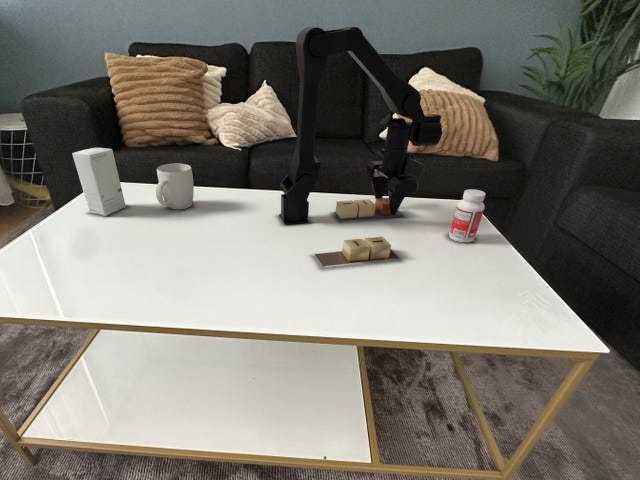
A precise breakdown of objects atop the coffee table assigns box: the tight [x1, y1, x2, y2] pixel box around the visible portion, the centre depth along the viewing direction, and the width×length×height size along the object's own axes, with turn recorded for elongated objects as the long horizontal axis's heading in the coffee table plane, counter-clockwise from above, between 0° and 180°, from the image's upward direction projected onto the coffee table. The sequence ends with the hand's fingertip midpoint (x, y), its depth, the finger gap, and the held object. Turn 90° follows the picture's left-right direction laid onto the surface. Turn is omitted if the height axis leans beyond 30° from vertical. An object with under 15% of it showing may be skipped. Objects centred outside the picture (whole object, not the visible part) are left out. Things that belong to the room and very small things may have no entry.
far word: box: [333, 198, 404, 222], centre depth 110 cm, size 18×6×4 cm, turn 105°
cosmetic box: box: [72, 147, 127, 217], centre depth 106 cm, size 8×6×15 cm
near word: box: [314, 236, 400, 267], centre depth 90 cm, size 18×6×4 cm, turn 105°
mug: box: [155, 162, 195, 210], centre depth 110 cm, size 13×9×10 cm
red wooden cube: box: [374, 197, 391, 215], centre depth 111 cm, size 4×4×3 cm
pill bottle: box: [448, 188, 486, 243], centre depth 97 cm, size 6×6×11 cm
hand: (385, 208), depth 112 cm, fingers open, 9 cm apart
